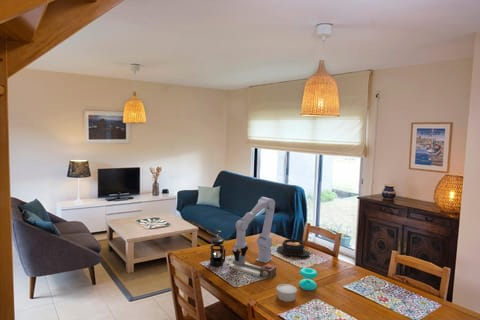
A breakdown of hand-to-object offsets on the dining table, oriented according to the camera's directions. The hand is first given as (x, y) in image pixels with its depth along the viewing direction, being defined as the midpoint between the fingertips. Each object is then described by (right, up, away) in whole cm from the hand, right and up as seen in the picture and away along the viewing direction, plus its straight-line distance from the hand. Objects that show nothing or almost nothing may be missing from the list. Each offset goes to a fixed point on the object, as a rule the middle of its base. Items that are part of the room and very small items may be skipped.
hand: (239, 258), depth 216 cm
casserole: (+40, -5, +30) cm, 50 cm away
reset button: (+18, -6, -11) cm, 21 cm away
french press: (-15, -5, +3) cm, 16 cm away
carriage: (0, -4, 0) cm, 4 cm away
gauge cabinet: (+18, -7, -11) cm, 22 cm away
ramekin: (+25, -10, -38) cm, 46 cm away
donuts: (+39, -9, -25) cm, 47 cm away
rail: (+5, -6, -3) cm, 8 cm away
